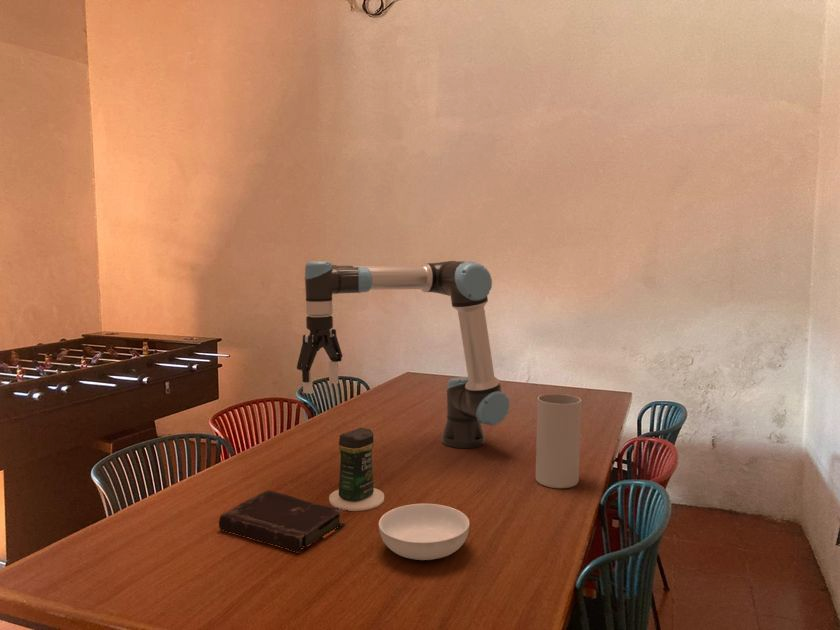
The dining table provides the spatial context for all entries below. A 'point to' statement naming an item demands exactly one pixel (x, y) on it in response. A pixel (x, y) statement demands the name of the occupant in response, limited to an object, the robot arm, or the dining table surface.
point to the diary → (281, 520)
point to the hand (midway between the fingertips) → (321, 388)
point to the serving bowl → (424, 530)
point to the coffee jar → (356, 464)
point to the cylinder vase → (558, 440)
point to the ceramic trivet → (361, 505)
